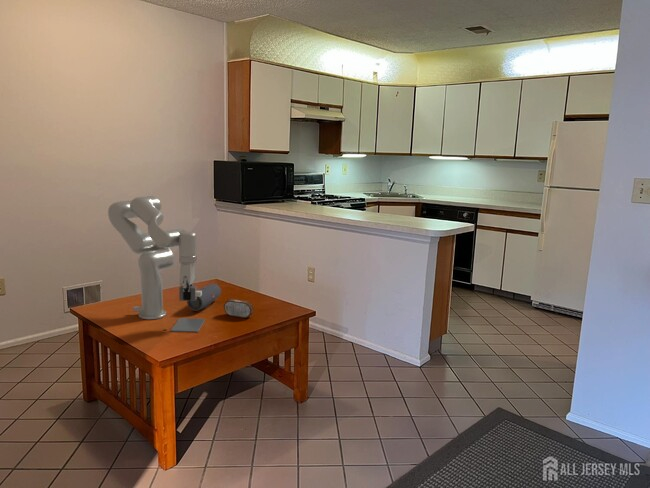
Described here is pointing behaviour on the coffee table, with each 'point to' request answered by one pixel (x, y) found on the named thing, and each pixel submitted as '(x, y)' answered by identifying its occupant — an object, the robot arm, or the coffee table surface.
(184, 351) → the coffee table surface
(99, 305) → the coffee table surface
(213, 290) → the bluetooth speaker
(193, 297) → the block
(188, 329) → the slate board
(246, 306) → the tin
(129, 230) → the robot arm
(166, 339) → the coffee table surface
